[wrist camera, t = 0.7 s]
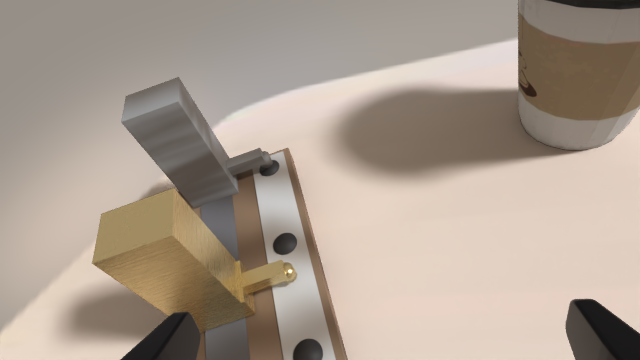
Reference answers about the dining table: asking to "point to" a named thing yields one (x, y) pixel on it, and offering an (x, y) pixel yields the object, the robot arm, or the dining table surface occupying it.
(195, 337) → the robot arm
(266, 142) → the dining table surface
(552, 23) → the coffee cup
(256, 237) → the gauge board
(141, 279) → the leg
